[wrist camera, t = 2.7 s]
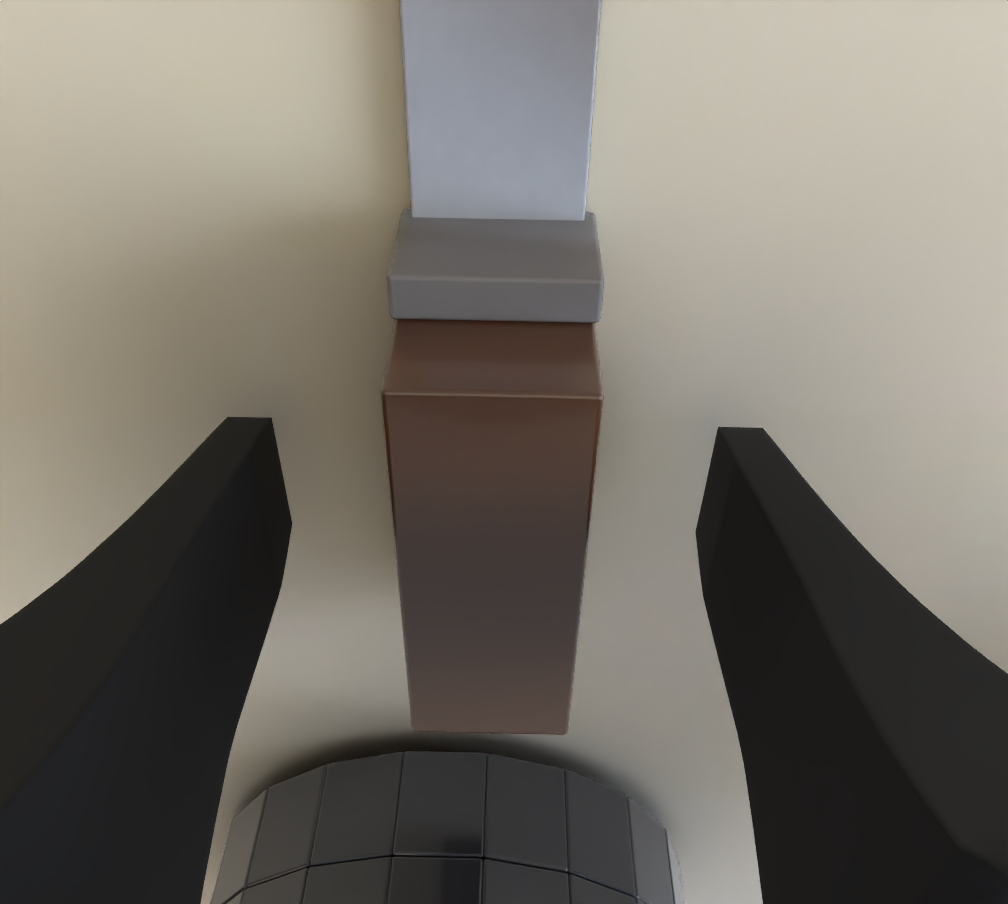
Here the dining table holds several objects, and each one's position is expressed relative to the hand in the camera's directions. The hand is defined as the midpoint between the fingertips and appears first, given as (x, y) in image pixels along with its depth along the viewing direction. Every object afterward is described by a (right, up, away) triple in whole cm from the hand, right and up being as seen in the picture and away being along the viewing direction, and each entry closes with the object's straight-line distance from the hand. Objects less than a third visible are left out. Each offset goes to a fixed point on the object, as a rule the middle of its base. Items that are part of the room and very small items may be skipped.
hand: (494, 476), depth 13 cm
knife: (0, +4, -1) cm, 4 cm away
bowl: (-1, -10, +10) cm, 14 cm away
